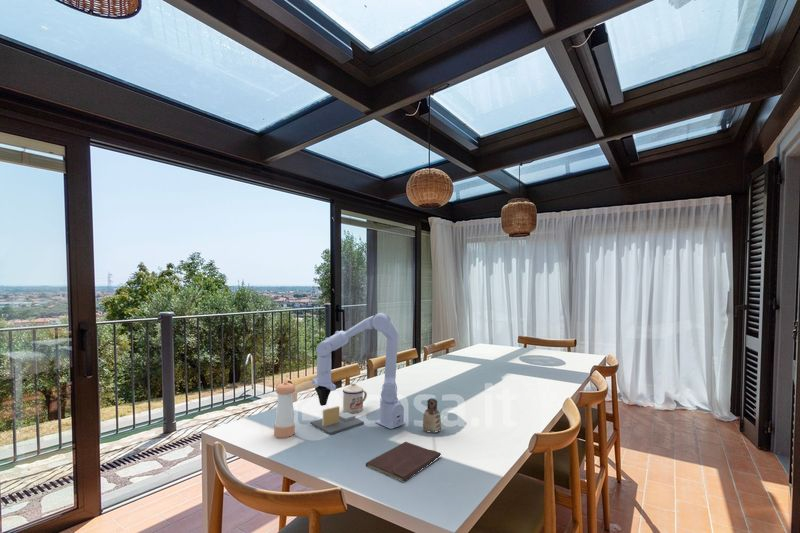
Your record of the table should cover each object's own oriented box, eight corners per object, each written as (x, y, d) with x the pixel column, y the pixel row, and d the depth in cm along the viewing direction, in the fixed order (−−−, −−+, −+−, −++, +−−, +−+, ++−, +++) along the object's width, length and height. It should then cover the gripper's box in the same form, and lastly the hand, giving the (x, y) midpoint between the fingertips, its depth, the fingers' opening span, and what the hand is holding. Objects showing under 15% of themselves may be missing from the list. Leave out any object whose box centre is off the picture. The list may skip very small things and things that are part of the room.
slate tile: (355, 418, 153) (355, 415, 153) (345, 421, 150) (345, 418, 150) (346, 414, 158) (346, 411, 158) (336, 417, 154) (336, 414, 154)
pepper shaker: (273, 431, 141) (275, 380, 142) (293, 429, 144) (294, 378, 145) (274, 439, 135) (275, 385, 135) (295, 436, 137) (296, 383, 138)
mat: (363, 423, 150) (364, 421, 150) (330, 434, 139) (330, 432, 139) (343, 414, 160) (343, 412, 160) (310, 424, 149) (310, 422, 149)
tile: (339, 422, 150) (339, 406, 150) (324, 426, 145) (324, 410, 145) (337, 421, 150) (337, 406, 151) (322, 425, 146) (322, 410, 146)
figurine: (442, 427, 148) (442, 396, 148) (439, 434, 141) (439, 401, 142) (424, 425, 150) (425, 394, 150) (421, 431, 143) (421, 399, 143)
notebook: (365, 467, 116) (365, 460, 116) (404, 445, 132) (404, 440, 132) (404, 484, 107) (404, 477, 107) (441, 459, 122) (441, 452, 123)
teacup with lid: (350, 415, 160) (351, 387, 160) (338, 409, 166) (338, 382, 167) (372, 408, 168) (372, 382, 168) (360, 403, 175) (360, 378, 175)
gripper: (306, 369, 155) (305, 402, 154) (325, 376, 144) (324, 411, 144) (320, 366, 160) (319, 398, 159) (340, 373, 149) (339, 407, 149)
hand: (323, 404), depth 152 cm, fingers closed
